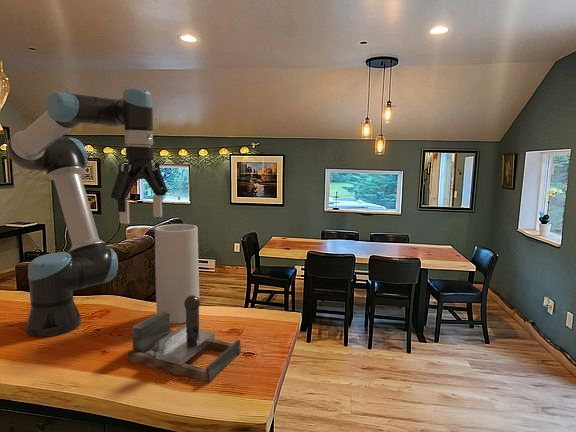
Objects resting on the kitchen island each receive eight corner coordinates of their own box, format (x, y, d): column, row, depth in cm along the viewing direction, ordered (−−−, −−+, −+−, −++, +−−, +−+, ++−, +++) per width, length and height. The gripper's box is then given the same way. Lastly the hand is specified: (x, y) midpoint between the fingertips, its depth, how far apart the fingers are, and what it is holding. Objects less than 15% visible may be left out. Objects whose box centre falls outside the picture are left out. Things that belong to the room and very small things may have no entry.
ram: (155, 367, 104) (153, 302, 101) (191, 341, 118) (190, 283, 115) (181, 374, 100) (180, 307, 98) (215, 346, 115) (214, 288, 112)
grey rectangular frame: (127, 361, 107) (126, 330, 106) (166, 336, 122) (165, 308, 120) (209, 383, 98) (209, 349, 96) (240, 353, 112) (240, 323, 111)
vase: (181, 305, 147) (179, 222, 142) (208, 315, 138) (207, 227, 133) (148, 317, 135) (144, 227, 130) (175, 329, 127) (172, 233, 122)
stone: (148, 368, 105) (171, 349, 105) (136, 351, 106) (159, 332, 106) (164, 359, 115) (184, 341, 115) (153, 344, 116) (173, 327, 116)
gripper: (115, 145, 99) (119, 227, 102) (177, 147, 122) (179, 215, 125) (93, 144, 102) (98, 225, 105) (158, 147, 124) (160, 213, 128)
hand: (142, 219), depth 115 cm, fingers open, 13 cm apart
